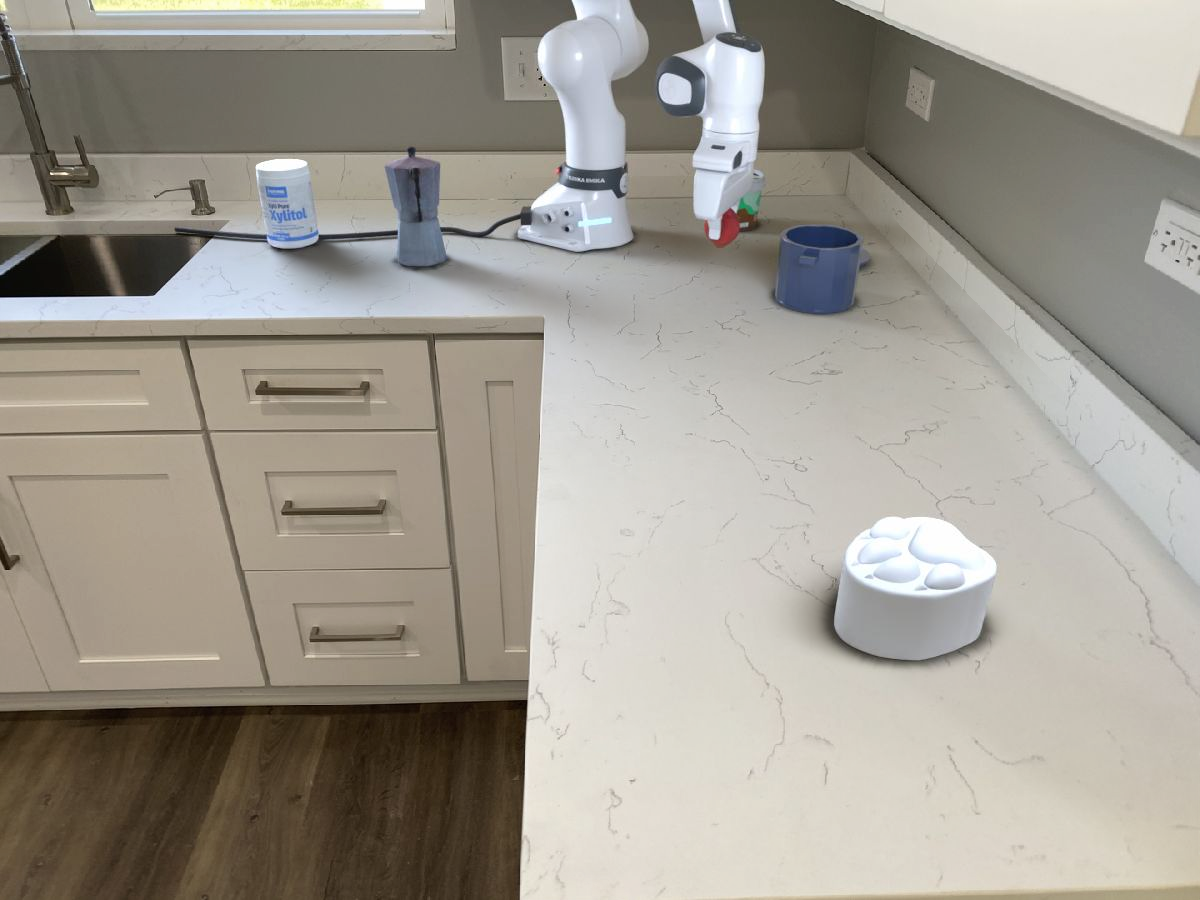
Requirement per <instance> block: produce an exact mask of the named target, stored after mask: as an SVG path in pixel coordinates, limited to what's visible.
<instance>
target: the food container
mask: <svg viewBox="0 0 1200 900" xmlns="http://www.w3.org/2000/svg"><path fill="white" fill-rule="evenodd" d="M764 175H765V174H764V172H762V171H761V170H758V169H755V168H754V175H753V184H752V188H751V190H750V191H749V192H748V193H747V194H746V195H745V196H743V197H742V198H741V199H740V204H739V207H738V211H737V216H738V218H739V224H740V230H739V232H745V231H750V230H753V229H755V228H756V226H757V222H758V217H759V211H760V205H761V204H760V203H761V197H762V190H764V189H765V188H766V185H767V184H766V177H765V176H764Z"/></svg>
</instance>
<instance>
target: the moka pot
mask: <svg viewBox="0 0 1200 900" xmlns="http://www.w3.org/2000/svg"><path fill="white" fill-rule="evenodd" d="M406 151H407V155H408V156H404V157H401V158H396V159H392V160H391V161H389V162H386V163H385V164H384V170H385V175H386V179H387V183H388V187H389V188H388V189H389V191H390V195H391V200H392V203H393V208H394V209H396V216H397V219H398V220H397V230H398V235H397V245H396V247H397V249H396V250H397V251H396V252H397V253H396V259H397V262H398V263H399V264H400V265H403V266H408V267H430V266H435V265H438V264H440V263H443V262H445V261H446V260H447V252H446V248H445V243H444V239H443V234H442V233H443V232H441V229H440V227H441V225H440V221H439V218H438V215H439V212H438V211H439V210H438V208H439V205H440V189H441V183H440V182H441V162H440V161H437V160H434V159H431V158H427V157H422V156H416V151H417V149H416V147H414V146H409V147H407V148H406Z"/></svg>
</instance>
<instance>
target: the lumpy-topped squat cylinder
mask: <svg viewBox="0 0 1200 900" xmlns="http://www.w3.org/2000/svg"><path fill="white" fill-rule="evenodd" d="M841 567H842V568H841V575H840V579H839V586H838V590H837V591H838V592H837V598H836V604H835V611H834V618H833V627H834V629H835V632H836V634H837V635H838V637H839V638H840V639H841V640H842V641H843V642H845V643H846V644H847V645H849V646H850V647H852V648H854V649H856V650H858V651H861V652H864V653H867V654H869V655H872V656H876V657H879V658H885V659H892V660H903V661H923V660H928V659H933V658H936V657H940V656H943V655H946V654H949V653H952V652H955V651H957V650H959V649H962V648H964V647H965V646H966V647H967V646H968V645H970V644H972V643H974V642H975V641H976V640H977V639H978V638H979V637H980V635H981V632H982V628H983V626H984V625H983V624H984V621H985V617H986V614H987V611H988V607H989V603H990V600H991V595H992V591H993V588H994V583H995V579H996V576H997V572H998V566H997V562H996V560H995V559H994V557H993V556H992V555H991V554H989V553H988V552H987V551H986V550H984V549H982V548H981V547H980V546H978V545H976V544H974V542H972V541H970V540H969V539H968V538H966V536H964V534H963V533H962V532H961V531H960V530H959V529H958V528H957V527H956V526H954V525H953V524H952V523H950V522H948V521H946V520H943V519H939V518H934V517H929V516H928V517H927V516H914V517H913V516H912V517H907V518H901V517H899V516H886V517H884V518H883V517H882V518H881V519H879V520H878V521H876V522H875V523H874V525H873V526H872V527H870V528H868V529H865V530H863V531H862V532H860V533H859V534H858V535H857V536H856V537H855V538H854V539H853V540H852V541H851V543H850V544H849V545H848V546H847V548H846V550H845V553H844V557H843V562H842V566H841Z"/></svg>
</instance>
